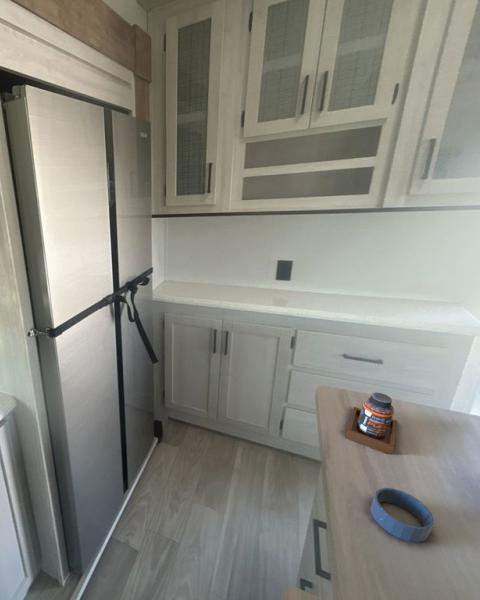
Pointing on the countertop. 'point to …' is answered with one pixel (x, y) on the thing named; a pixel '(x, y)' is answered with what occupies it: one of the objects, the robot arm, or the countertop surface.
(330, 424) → the countertop surface
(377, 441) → the tray
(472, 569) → the countertop surface
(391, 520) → the ring
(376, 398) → the supplement bottle
